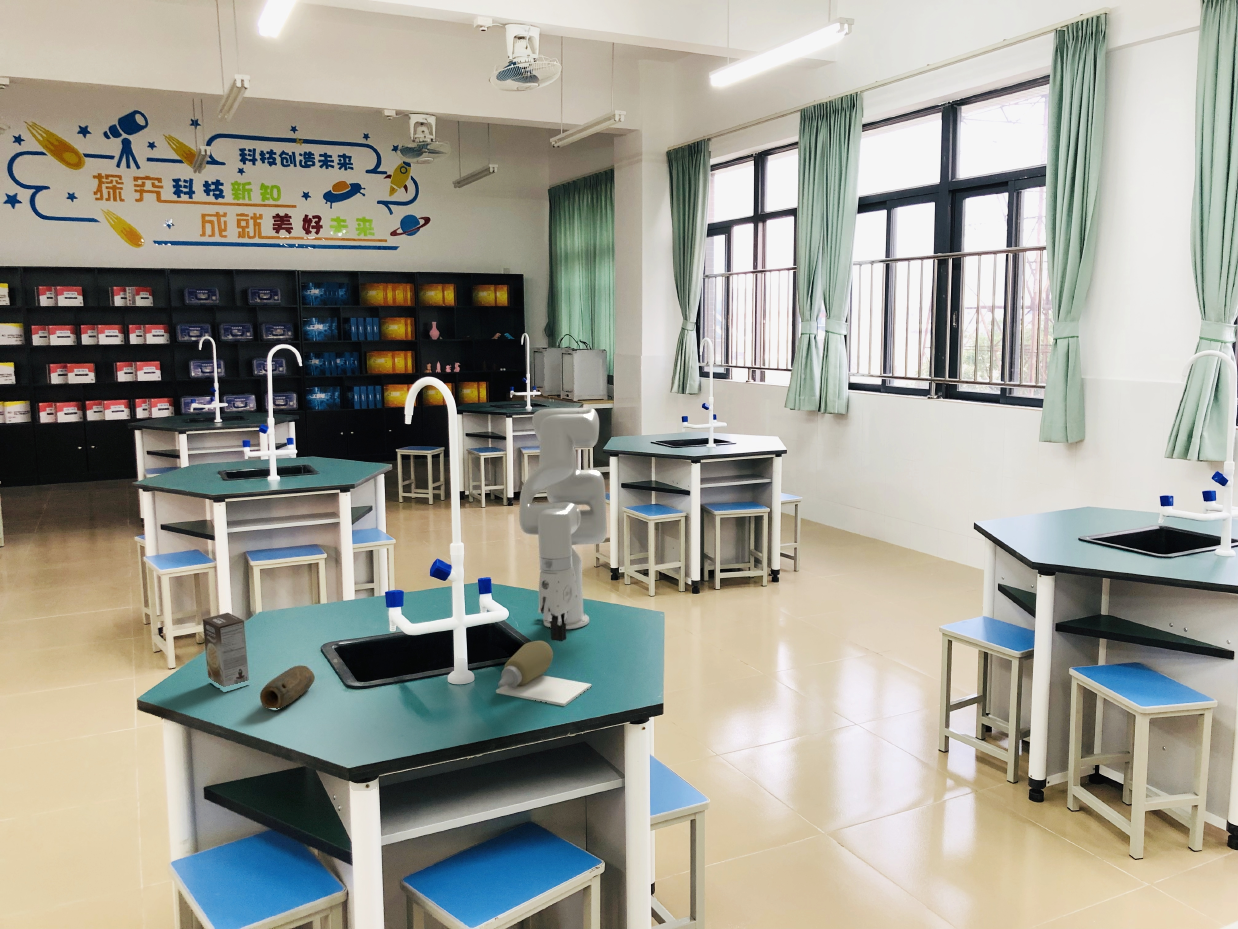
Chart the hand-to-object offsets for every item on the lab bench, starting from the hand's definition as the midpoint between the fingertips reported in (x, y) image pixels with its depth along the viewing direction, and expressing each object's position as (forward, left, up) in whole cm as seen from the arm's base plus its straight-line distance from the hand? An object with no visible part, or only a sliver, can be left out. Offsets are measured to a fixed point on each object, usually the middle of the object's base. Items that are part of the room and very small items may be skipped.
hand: (558, 639), depth 219 cm
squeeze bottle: (-6, +3, -5) cm, 8 cm away
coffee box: (-70, -35, -10) cm, 79 cm away
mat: (0, -7, -10) cm, 12 cm away
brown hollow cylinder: (-50, -36, -10) cm, 62 cm away
